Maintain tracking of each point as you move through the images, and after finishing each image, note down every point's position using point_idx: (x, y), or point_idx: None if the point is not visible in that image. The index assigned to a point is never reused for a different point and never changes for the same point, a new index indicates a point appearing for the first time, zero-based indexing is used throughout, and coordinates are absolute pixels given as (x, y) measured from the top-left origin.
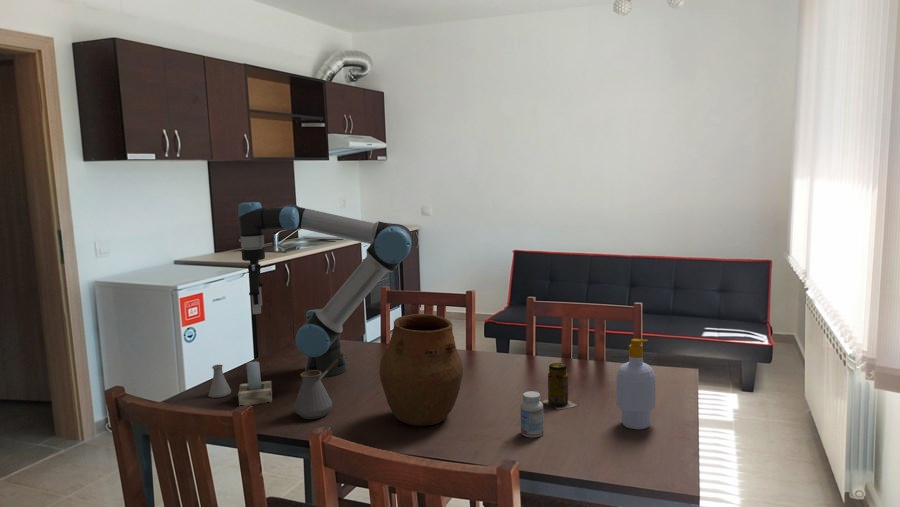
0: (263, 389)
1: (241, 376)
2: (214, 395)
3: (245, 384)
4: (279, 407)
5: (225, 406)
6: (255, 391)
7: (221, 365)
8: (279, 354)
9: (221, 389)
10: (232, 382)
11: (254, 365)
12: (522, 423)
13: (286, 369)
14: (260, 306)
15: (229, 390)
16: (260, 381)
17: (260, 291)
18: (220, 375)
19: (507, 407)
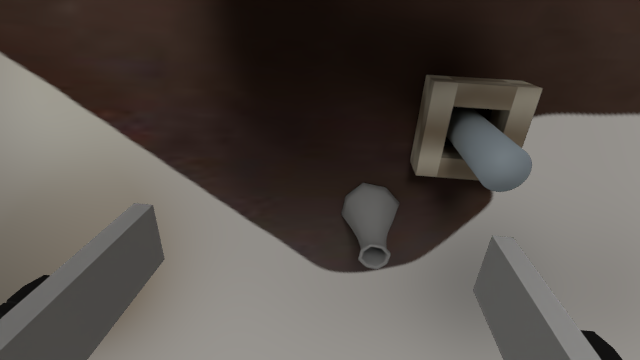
0: (517, 111)
1: (232, 154)
2: (392, 222)
3: (427, 161)
4: (588, 60)
5: (473, 197)
6: (520, 136)
7: (370, 246)
8: (8, 26)
9: (394, 214)
10: (279, 178)
11: (530, 164)
12: None
13: (197, 11)
14: (546, 286)
15: (375, 190)
16: (490, 123)
17: (48, 316)
18: (384, 234)
19: None
